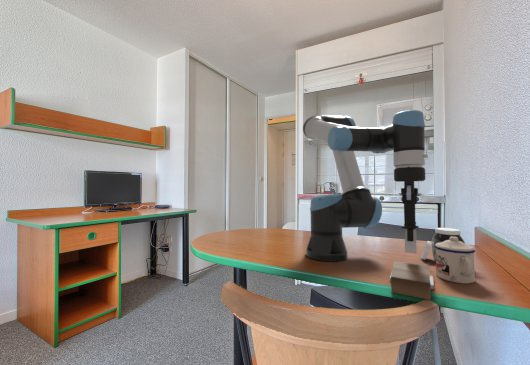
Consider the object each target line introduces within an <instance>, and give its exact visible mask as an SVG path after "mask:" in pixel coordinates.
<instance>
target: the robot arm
mask: <svg viewBox="0 0 530 365" xmlns="http://www.w3.org/2000/svg"><path fill="white" fill-rule="evenodd" d="M425 127H426V125H425V117H424V113H423V112H422V111H421V110H417V109H409V110H403V111H399V112H396V113H395V114H394V115H393V118H392V124H391V125H388V126H386V127H372V126H371V127H366V126H364V127H363V126H362V127H361V126H357V125H356V122H355V120H354V119H353V118H352V117H351V116H349V115H344V114H341V115H331V114H316V115H315V114H314V115H311V116H310V117H308V118H307V119H305V121H304V123H303V125H302V133H303V134H304V136H305V137H306V138H308V139H309V140H312V141H320V142H323V143H325V144H327V146H328V147H329V149H330V150H332V154H333V158H334V161H335V165H336V170H337V174H338V177H339V181H340V186H341V190H342V193H330V194H322V195H317V196H314V197H312V198H311V200H310V208H309V210H310V236H309V239H308V243H307V245H306V249H305V250H306V251H305V252H306V253H305V255H306V257H307V256H308V257H307V258H308V259H309V258H310V259H312V260H315V261H321V262H341V261H345V260H347V259H348V249H347V247H346V242H345V241H344V238H343V229H345V228H346V229H347V228H363V229H364V228H370V227H371V228H373V227H375V226H376V225H378V224H379V223H380V220H381V219H382V218H381V217H382V214H383V205H382V202H381V200H380V198H378V197H376V196H373V195H372V193H371V190H370V189H369V188H367V187H365V185H364V183H365V182H364V181H363V177H362V174H361V170H360V167H359V164H358V160H357V157H356V153H355V152H371V153H373V154H384V153H389V152H391V151H393V166H394V169H393V181H395V182H398V183H399V182H403V187H401V188H400V195H401V198H402V200H401V201H402V202H401V203H402V204H403V218H404V219H403V220H404V223H403V225H401V229H404V253H408V254H417V250H418V249H417V229H419V227H420V226H419V225H417V221H416V205H417V203H418V193H419V188H418V187H415V182H424V181H425V180H426V168H425V167H423V166H425V165H426V163H425V162H426V158H428V154H427V153H425V152H426V151H425V150H426V148H425V146H426V144H425Z"/></svg>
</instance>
